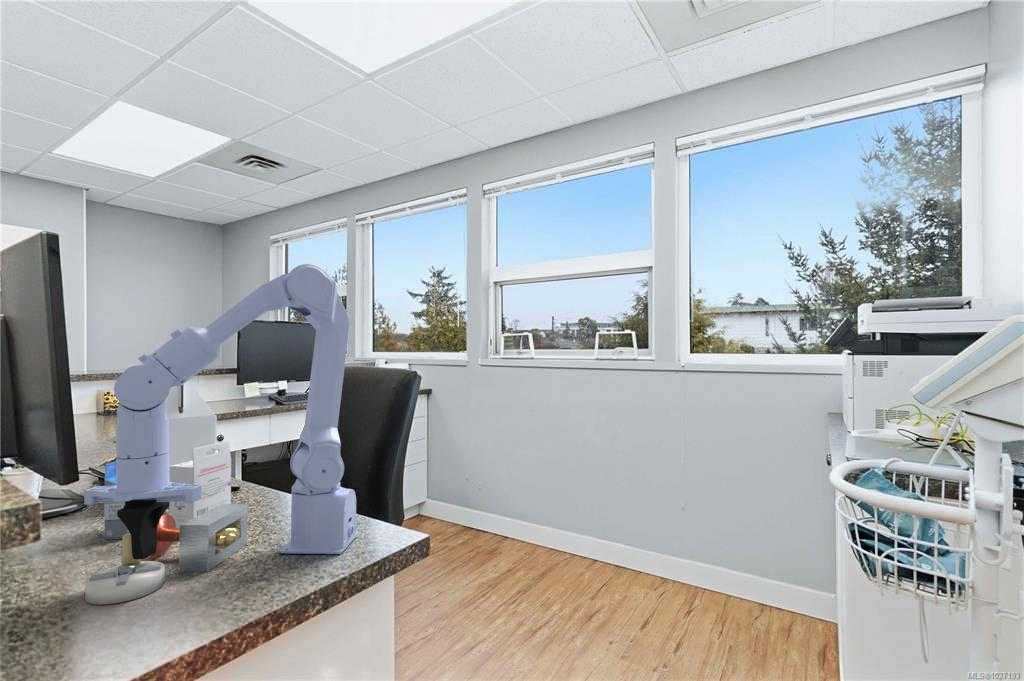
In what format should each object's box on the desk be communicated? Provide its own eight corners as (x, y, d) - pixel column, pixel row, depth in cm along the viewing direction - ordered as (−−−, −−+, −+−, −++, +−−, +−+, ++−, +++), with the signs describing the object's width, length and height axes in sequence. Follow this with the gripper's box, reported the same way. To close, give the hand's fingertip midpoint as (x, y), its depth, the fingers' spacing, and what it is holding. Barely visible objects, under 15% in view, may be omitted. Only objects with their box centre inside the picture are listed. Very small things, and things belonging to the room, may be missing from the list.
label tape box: (127, 539, 81) (130, 463, 81) (101, 540, 81) (103, 464, 81) (161, 521, 90) (163, 453, 90) (138, 521, 89) (139, 453, 90)
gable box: (215, 496, 106) (218, 365, 107) (140, 510, 96) (144, 366, 97) (183, 478, 121) (186, 364, 121) (114, 489, 111) (118, 364, 112)
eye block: (246, 544, 79) (247, 503, 79) (207, 571, 69) (208, 525, 69) (221, 544, 79) (222, 503, 79) (178, 571, 69) (180, 524, 69)
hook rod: (250, 547, 77) (251, 509, 77) (227, 563, 71) (228, 522, 71) (169, 546, 77) (170, 509, 77) (140, 562, 71) (141, 521, 71)
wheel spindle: (139, 570, 64) (139, 563, 64) (128, 576, 63) (128, 569, 63) (125, 570, 64) (125, 563, 64) (113, 576, 63) (114, 569, 63)
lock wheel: (160, 594, 62) (161, 547, 62) (76, 610, 58) (78, 559, 58) (167, 570, 69) (169, 527, 69) (94, 582, 65) (95, 537, 65)
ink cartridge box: (207, 519, 91) (209, 439, 91) (231, 521, 90) (233, 440, 90) (166, 536, 82) (168, 447, 83) (191, 538, 81) (194, 448, 82)
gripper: (62, 462, 63) (63, 570, 62) (176, 460, 62) (177, 568, 62) (109, 450, 70) (109, 547, 70) (210, 449, 70) (211, 546, 69)
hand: (144, 556), depth 66 cm, fingers closed, pressing on lock wheel
